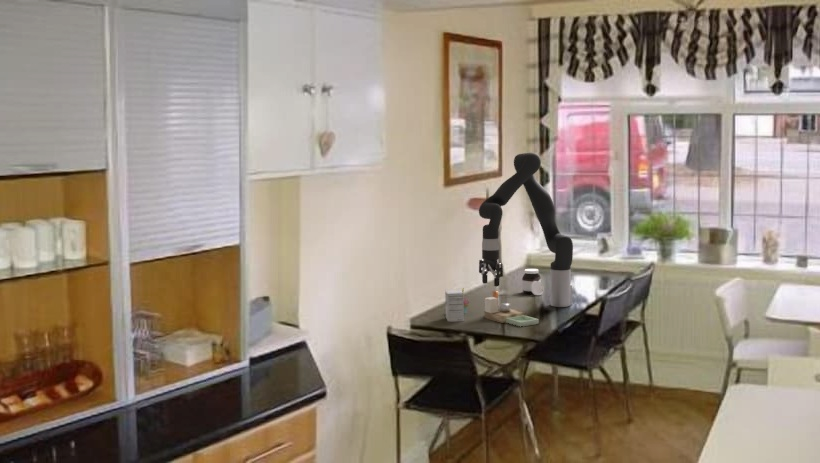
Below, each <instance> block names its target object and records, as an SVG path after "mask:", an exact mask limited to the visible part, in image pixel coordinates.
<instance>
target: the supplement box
mask: <svg viewBox="0 0 820 463" xmlns="http://www.w3.org/2000/svg"><path fill="white" fill-rule="evenodd" d="M444 298H445V318H446V321H447V322H448V323H449V322H464V321H465V314H464V299H465V296H464V292H462V290H461V289H454V290H453V289H452V290H449V289H447V290H445V296H444Z"/></svg>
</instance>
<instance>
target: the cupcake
mask: <svg viewBox="0 0 820 463" xmlns="http://www.w3.org/2000/svg"><path fill="white" fill-rule="evenodd" d="M464 288H465V287H463V288H462V290H461V291H462V292H463V293H464V290H465V289H464ZM469 303H470V302H469V300H468V299H467V298H464V315H465V314H466V311H467V309H468V306H469V305H470V304H469Z"/></svg>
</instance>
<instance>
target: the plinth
mask: <svg viewBox="0 0 820 463" xmlns="http://www.w3.org/2000/svg"><path fill="white" fill-rule="evenodd" d="M483 313H484V314H483V315H484V316H483V318H484V319H487V320H490V321H495V322H498V323H501V324H504V323H506V318H510V317H516V316H522V315H525V316H527V314H526V311H522V310H519V309H516V308H515V309H514V308H512V307H511V311H510V312H500V311H499V309H498V312H493V313H489V312H485V310H484V311H483Z"/></svg>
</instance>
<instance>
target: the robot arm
mask: <svg viewBox="0 0 820 463" xmlns="http://www.w3.org/2000/svg"><path fill="white" fill-rule="evenodd" d="M541 165H542V161H541V158H540V155H538V153H536V152H525V153H524V152H523V153H518V154H517V155H515V157H514V159H513V166H514V170H515V173H514V174H513V175H512V176H510V177H509V178H508V179H506V180H505V181H504V182H502V183H501V185H499V187H498V188H497V189H496V191H495V192H494V193H493V194H492V195H491V196H489V197H488V198H486V199H485V200H484V201H483V202H482V203H481V204H480V206H479V208H478V213H479V217H481V218H482V219H485V220H489V221H488V224H485V225H483V226H482V242H481V259H479V260H478V261H479V262H478V272H479V274H481V276H482V279H481V280H482V284H484V285H485V284H488V273H489V272H491V274H492V275H493V277H494V278H493V282H494V284H493V287H499V286H500V278H501V277H504V272H503V270H504V269H503V267H504V266H503V263H502V262H498V260H499V259H500V238H499V236H500V234H499V232H500V230H499V229H500V225H501V222H502V218H503V208H502V207H503V206H505V205H507V203H508V202H509V201H510V200H511V199H512V197H513V196H514V195H515V194H516V192H517V191H518V190H519V189H520V187H521V186H523V187H524V189H525V191H526V194H527V196H528V198H529V200H530V204H531V205H532V208H533V211H534V213H535V214H536V217H537V220H538V222H539V224H540V226H541V229H542V232H543V236H544V239H545V240H544V241H545V242H546V246H547V248H548V250H549V251H550V252H551V253H553V254H554V260H553V261H551V263H550V306H552V307H557V308H567V307H570V306H572V305H573V284H571V279H572V278H571V275H572V274H571V267H572V266H571V265H572V263H573V256H574V255H573V254H574V243H573V240H572V238H571V237H570V236H569V235H564V234H562V233H561V232H560V231H559V228H558V225H557V223H556V209H555V208H556V207H555V204H554V201H553V199H552V196H551V195H550V193H549V192H548V190H547V189H546V188H544V186H542V185H541V184H540V182H538V180H537V179H536V178H535V174H536V173H537V172H538V171H539V170H540V167H541Z"/></svg>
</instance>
